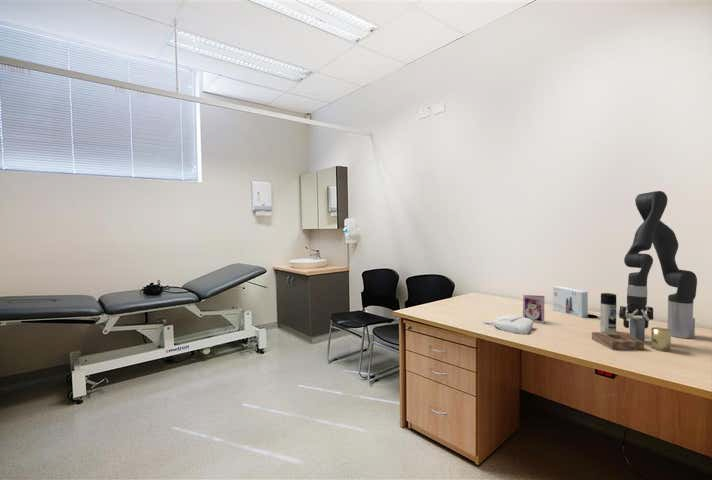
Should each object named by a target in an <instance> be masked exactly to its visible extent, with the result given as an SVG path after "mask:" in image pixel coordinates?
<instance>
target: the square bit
mask: <svg viewBox="0 0 712 480" xmlns="http://www.w3.org/2000/svg"><path fill="white" fill-rule="evenodd" d="M645 329H646V328H645V319H643V318H642V317H640V316H638V317H637V316H633V317H631V318H630V319H629V336H631V337H633V338H636V339H638V340H641V341H643V342H644V343H645V337H646V336H645V333H646V332H645V331H646V330H645Z"/></svg>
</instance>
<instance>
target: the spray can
mask: <svg viewBox="0 0 712 480" xmlns="http://www.w3.org/2000/svg"><path fill="white" fill-rule="evenodd" d="M600 332H617V294H615V293H610V292H602V293H600Z"/></svg>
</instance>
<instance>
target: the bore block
mask: <svg viewBox="0 0 712 480" xmlns="http://www.w3.org/2000/svg"><path fill="white" fill-rule="evenodd" d="M592 340H593V341H594V342H596V343H598V344H600V345H602V346H604V347H606V348H608V349H610V350H612V351H613V350H614V351H615V350H617V351H619V350H620V351H621V350H622V351H623V350H625V351H626V350H627V351H628V350H629V351H631V350H632V351H635V350H636V351H639V350H640V351H641V350H642V351H644V350H645V341H644V342H643V341H641V340H638V339H636V338H633V337H631V336H630V334H627V333H624V332H621V331H619V332H617V331H616V332H602V331H598V332H597V331H596V332H594V331H593V332H591V341H592Z"/></svg>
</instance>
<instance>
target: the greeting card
mask: <svg viewBox="0 0 712 480" xmlns="http://www.w3.org/2000/svg"><path fill="white" fill-rule="evenodd" d="M522 297H523V298H522V301H523V302H522V317H524V318H529V319H531V320H532V321H533V323H535V324H541V325H544V324H545V323H544V322H545V295H531V294H527V295H526V294H523V296H522Z"/></svg>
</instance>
